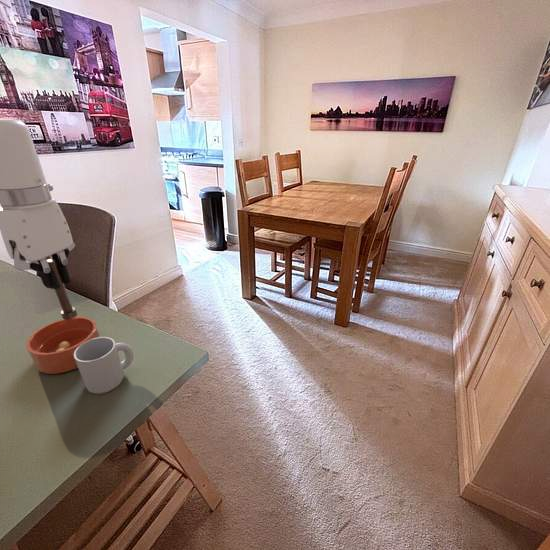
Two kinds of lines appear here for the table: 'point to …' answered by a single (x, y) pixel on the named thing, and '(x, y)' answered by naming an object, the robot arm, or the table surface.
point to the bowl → (52, 335)
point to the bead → (64, 345)
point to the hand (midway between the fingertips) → (58, 284)
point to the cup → (102, 363)
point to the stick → (62, 294)
